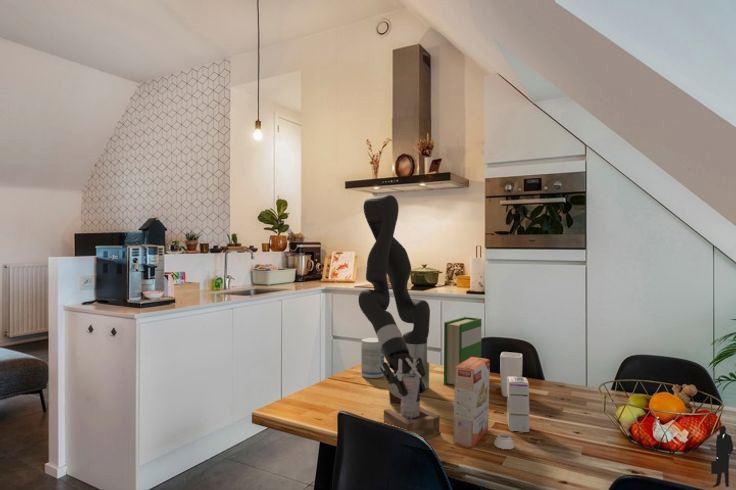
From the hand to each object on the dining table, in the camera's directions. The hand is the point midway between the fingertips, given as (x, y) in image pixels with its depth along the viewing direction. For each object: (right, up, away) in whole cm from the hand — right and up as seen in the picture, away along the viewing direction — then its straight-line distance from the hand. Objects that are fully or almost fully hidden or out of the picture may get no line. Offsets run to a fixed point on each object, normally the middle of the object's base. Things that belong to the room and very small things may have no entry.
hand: (414, 393), depth 126 cm
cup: (+38, -12, +33) cm, 51 cm away
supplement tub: (-11, -12, +56) cm, 59 cm away
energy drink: (-1, -8, +1) cm, 8 cm away
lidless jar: (+23, -12, -7) cm, 27 cm away
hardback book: (+25, -12, +50) cm, 57 cm away
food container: (0, -12, +25) cm, 27 cm away
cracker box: (+16, -12, -2) cm, 20 cm away
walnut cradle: (-1, -11, +1) cm, 12 cm away
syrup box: (+31, -12, +4) cm, 33 cm away
